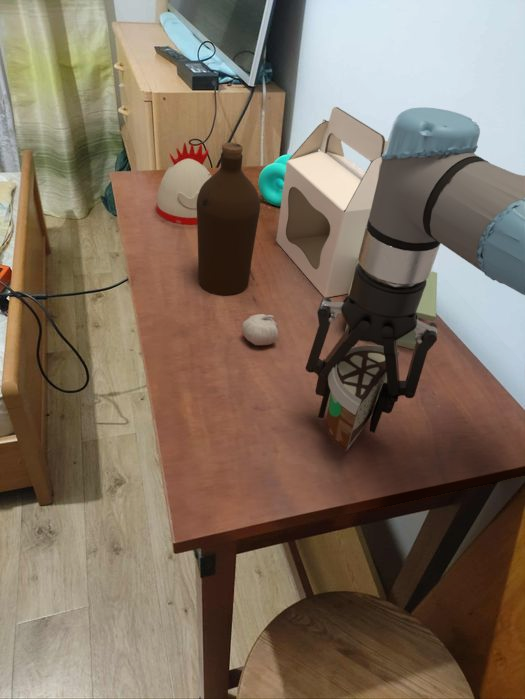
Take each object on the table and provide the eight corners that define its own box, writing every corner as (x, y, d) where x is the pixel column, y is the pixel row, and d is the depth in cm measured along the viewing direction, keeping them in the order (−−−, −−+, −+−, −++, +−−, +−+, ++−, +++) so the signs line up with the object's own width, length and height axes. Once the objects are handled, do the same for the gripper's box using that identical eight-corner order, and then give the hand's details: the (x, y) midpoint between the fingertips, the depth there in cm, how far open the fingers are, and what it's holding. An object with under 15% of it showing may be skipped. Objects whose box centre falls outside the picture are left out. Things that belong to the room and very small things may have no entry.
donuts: (307, 198, 127) (314, 158, 121) (292, 213, 120) (298, 171, 114) (271, 188, 130) (276, 148, 123) (254, 201, 123) (258, 160, 116)
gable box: (383, 289, 99) (429, 142, 81) (325, 299, 94) (359, 146, 76) (328, 234, 114) (356, 100, 96) (274, 241, 109) (293, 100, 91)
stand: (423, 309, 95) (437, 272, 90) (420, 355, 85) (435, 316, 80) (349, 291, 97) (359, 254, 92) (338, 333, 87) (348, 295, 82)
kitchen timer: (223, 224, 112) (227, 156, 102) (159, 225, 109) (157, 155, 99) (213, 196, 122) (215, 132, 113) (154, 196, 119) (152, 130, 109)
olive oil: (241, 303, 90) (254, 164, 74) (185, 288, 92) (186, 149, 76) (258, 274, 98) (274, 142, 82) (207, 261, 100) (212, 129, 84)
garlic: (280, 334, 85) (284, 309, 81) (273, 355, 81) (277, 329, 77) (246, 326, 86) (248, 301, 82) (237, 346, 81) (239, 320, 78)
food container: (343, 383, 74) (359, 329, 68) (381, 403, 72) (401, 349, 65) (299, 433, 66) (312, 377, 59) (340, 458, 63) (359, 402, 57)
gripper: (483, 272, 55) (420, 417, 70) (311, 234, 58) (285, 381, 73) (487, 310, 49) (417, 459, 64) (296, 266, 52) (271, 418, 67)
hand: (347, 417), depth 68 cm, fingers closed on food container, 6 cm apart
